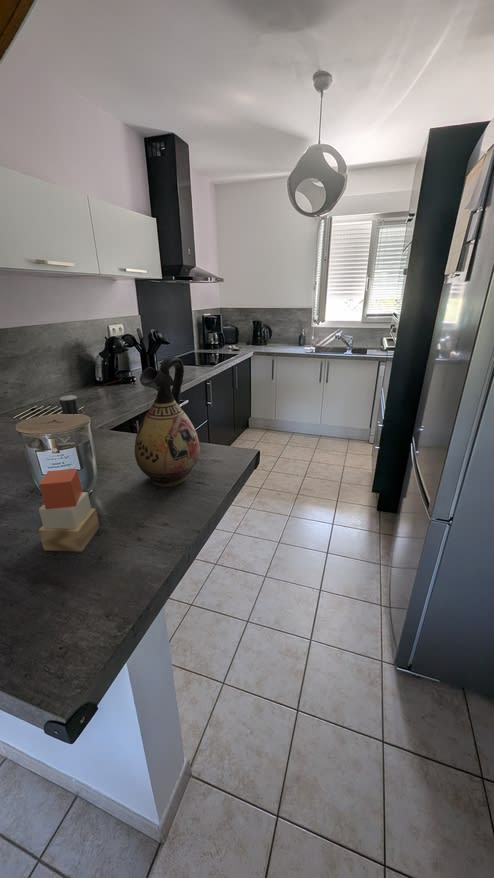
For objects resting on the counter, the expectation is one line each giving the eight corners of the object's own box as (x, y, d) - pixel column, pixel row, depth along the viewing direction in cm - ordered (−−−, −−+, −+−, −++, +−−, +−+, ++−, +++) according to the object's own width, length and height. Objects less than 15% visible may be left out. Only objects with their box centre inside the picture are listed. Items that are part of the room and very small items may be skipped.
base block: (43, 550, 65) (38, 530, 63) (64, 526, 71) (60, 507, 70) (82, 551, 64) (77, 531, 63) (99, 527, 71) (96, 508, 69)
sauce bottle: (71, 465, 96) (56, 394, 89) (96, 462, 98) (83, 392, 90) (68, 476, 90) (51, 401, 83) (94, 473, 92) (80, 399, 85)
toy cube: (45, 509, 62) (39, 484, 60) (53, 494, 66) (48, 470, 64) (76, 506, 63) (70, 481, 61) (82, 491, 67) (77, 468, 65)
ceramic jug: (174, 501, 80) (161, 367, 68) (125, 484, 87) (106, 360, 75) (216, 470, 93) (212, 354, 82) (171, 457, 100) (161, 350, 89)
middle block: (43, 528, 63) (38, 509, 62) (61, 509, 69) (57, 491, 67) (76, 529, 63) (71, 510, 62) (91, 509, 69) (87, 492, 67)
